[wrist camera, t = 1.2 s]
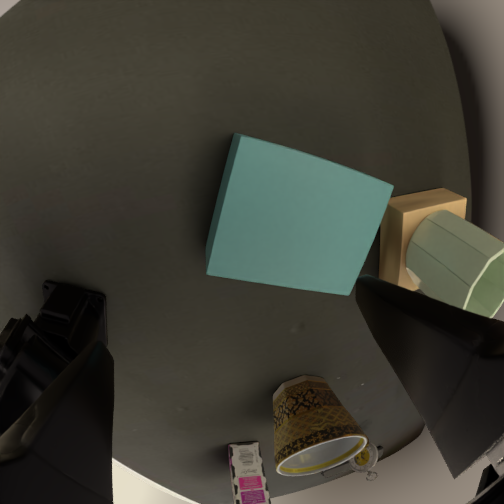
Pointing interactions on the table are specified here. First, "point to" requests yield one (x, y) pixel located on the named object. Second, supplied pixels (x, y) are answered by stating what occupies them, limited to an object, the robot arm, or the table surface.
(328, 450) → the ceramic cup
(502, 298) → the pale green faceted cup
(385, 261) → the tan block
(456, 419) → the robot arm
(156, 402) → the table surface
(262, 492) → the candy bar box
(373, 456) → the pocket watch
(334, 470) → the phone
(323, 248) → the box
